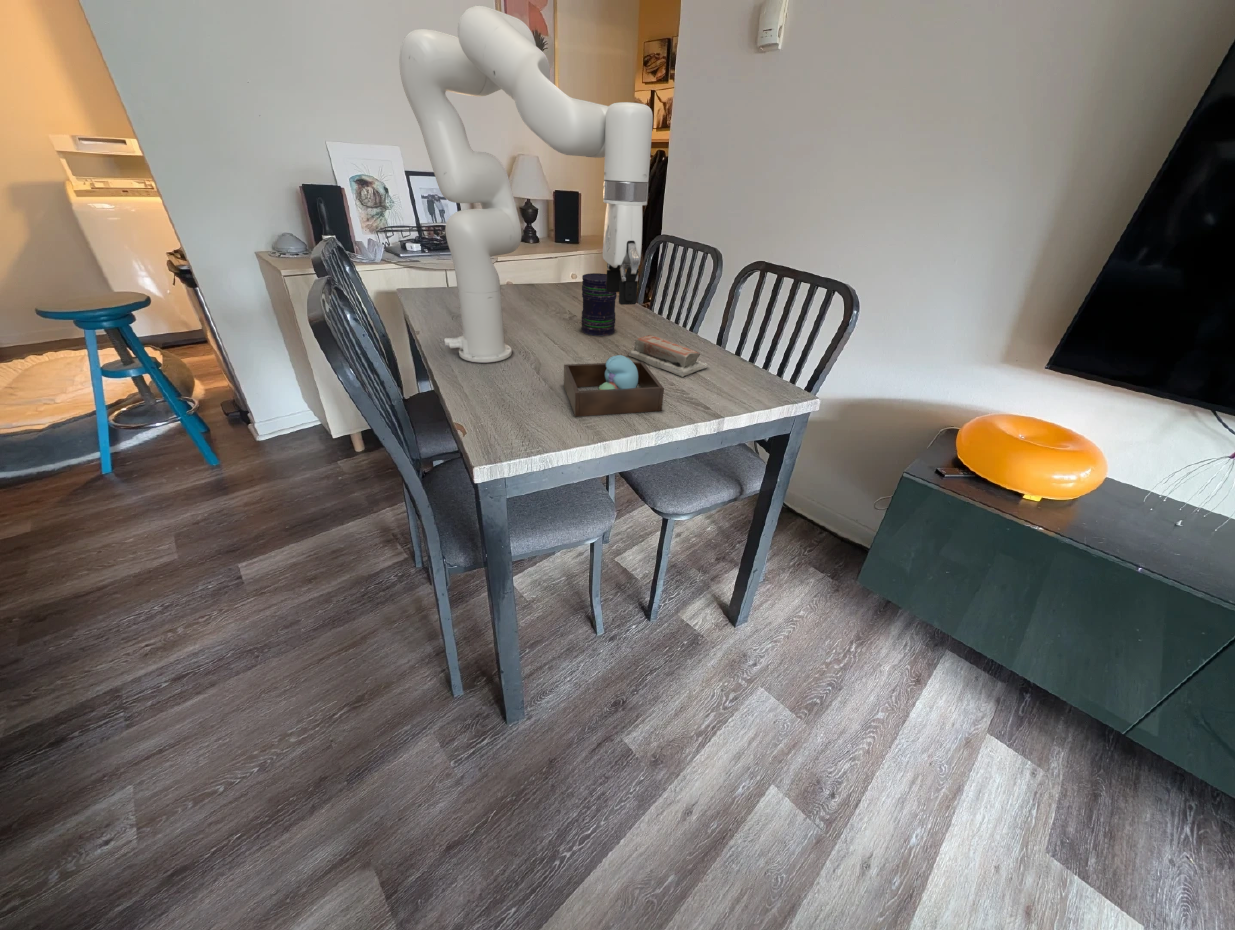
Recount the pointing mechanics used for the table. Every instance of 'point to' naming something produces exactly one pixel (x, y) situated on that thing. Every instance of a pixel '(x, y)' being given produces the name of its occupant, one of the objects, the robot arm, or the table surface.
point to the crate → (610, 391)
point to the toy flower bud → (620, 373)
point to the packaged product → (667, 355)
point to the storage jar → (597, 306)
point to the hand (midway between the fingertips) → (620, 297)
